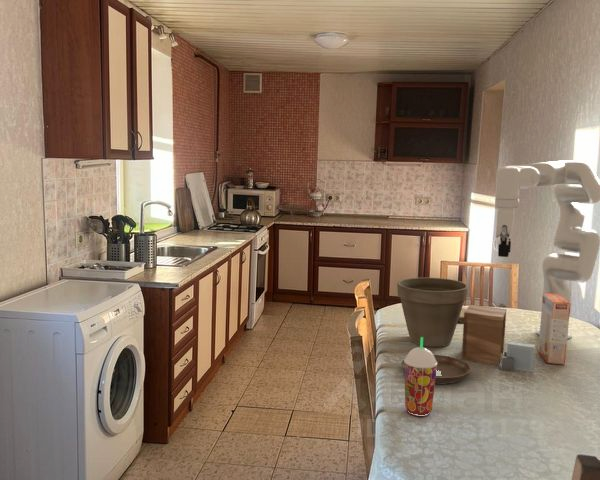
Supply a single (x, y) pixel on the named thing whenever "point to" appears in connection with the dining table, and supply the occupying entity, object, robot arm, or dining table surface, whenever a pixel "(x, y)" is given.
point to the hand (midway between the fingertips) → (504, 254)
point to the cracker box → (554, 328)
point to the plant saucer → (449, 369)
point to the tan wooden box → (483, 334)
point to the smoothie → (419, 380)
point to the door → (521, 355)
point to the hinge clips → (507, 363)
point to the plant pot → (432, 308)
